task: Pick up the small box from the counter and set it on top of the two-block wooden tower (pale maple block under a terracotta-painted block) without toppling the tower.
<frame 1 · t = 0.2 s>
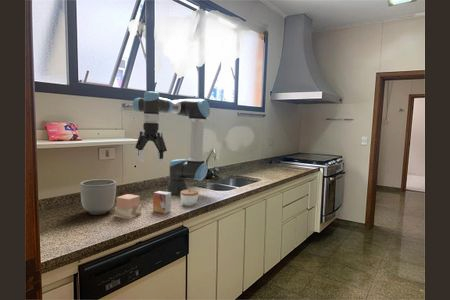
hand: (150, 163, 145), 27 cm above the worktop, fingers open, 13 cm apart
small box: (161, 211, 154), on the worktop
terracotta block: (128, 206, 145), point 5 cm above the worktop, touching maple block
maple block: (128, 215, 145), on the worktop, touching terracotta block
lidded jar: (189, 204, 169), on the worktop
planter: (98, 212, 148), on the worktop
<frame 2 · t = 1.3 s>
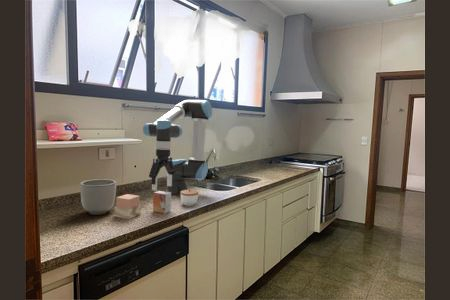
hand: (162, 188, 152), 13 cm above the worktop, fingers open, 13 cm apart
nothing on the worktop moved.
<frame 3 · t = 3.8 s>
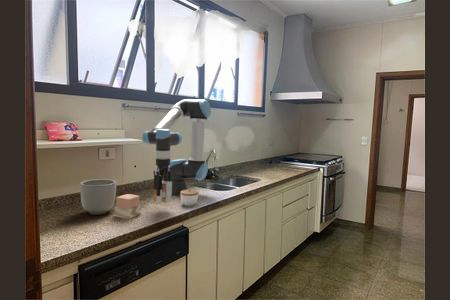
hand: (162, 199, 154), 6 cm above the worktop, fingers closed on small box, 6 cm apart
small box: (162, 201, 154), point 5 cm above the worktop, touching gripper
everything else where it was.
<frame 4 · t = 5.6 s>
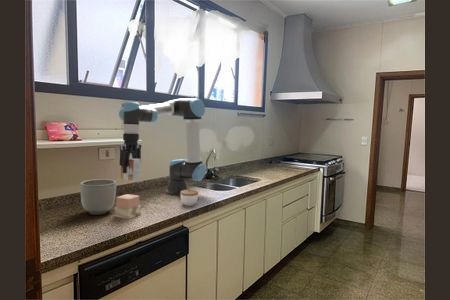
hand: (130, 178, 144), 19 cm above the worktop, fingers closed on small box, 6 cm apart
small box: (130, 179, 144), point 19 cm above the worktop, touching gripper
everything else where it was.
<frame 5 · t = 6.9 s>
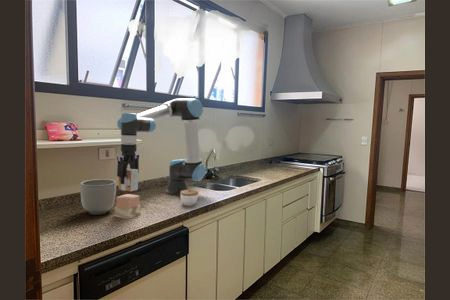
hand: (128, 188, 144), 14 cm above the worktop, fingers closed on small box, 6 cm apart
small box: (128, 189, 144), point 13 cm above the worktop, touching gripper
everything else where it was.
when the fingers open (11 cm above the worktop, at t = 7.8 s): small box stays where it is, point 10 cm above the worktop.
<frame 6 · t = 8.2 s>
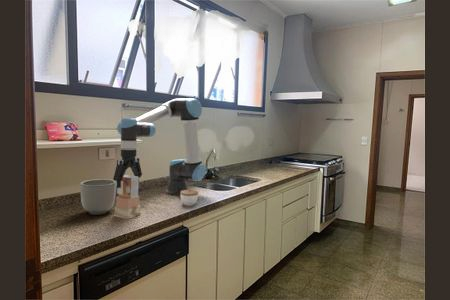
hand: (128, 191, 144), 12 cm above the worktop, fingers open, 11 cm apart
small box: (128, 196, 144), point 10 cm above the worktop
everything else where it was.
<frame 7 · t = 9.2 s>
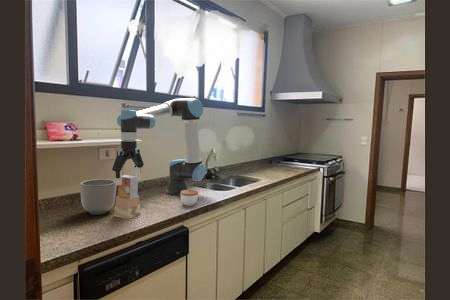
hand: (128, 182, 144), 17 cm above the worktop, fingers open, 13 cm apart
small box: (127, 196, 144), point 10 cm above the worktop, touching terracotta block
terracotta block: (127, 205, 145), point 5 cm above the worktop, touching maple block, small box
everything else where it was.
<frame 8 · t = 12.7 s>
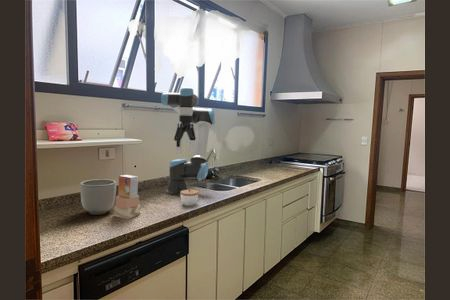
hand: (185, 151, 164), 32 cm above the worktop, fingers open, 13 cm apart
nothing on the worktop moved.
at the end: small box 0.4 cm from the terracotta block (horizontally); small box point 9.5 cm above the worktop; terracotta block tilted 0° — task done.
